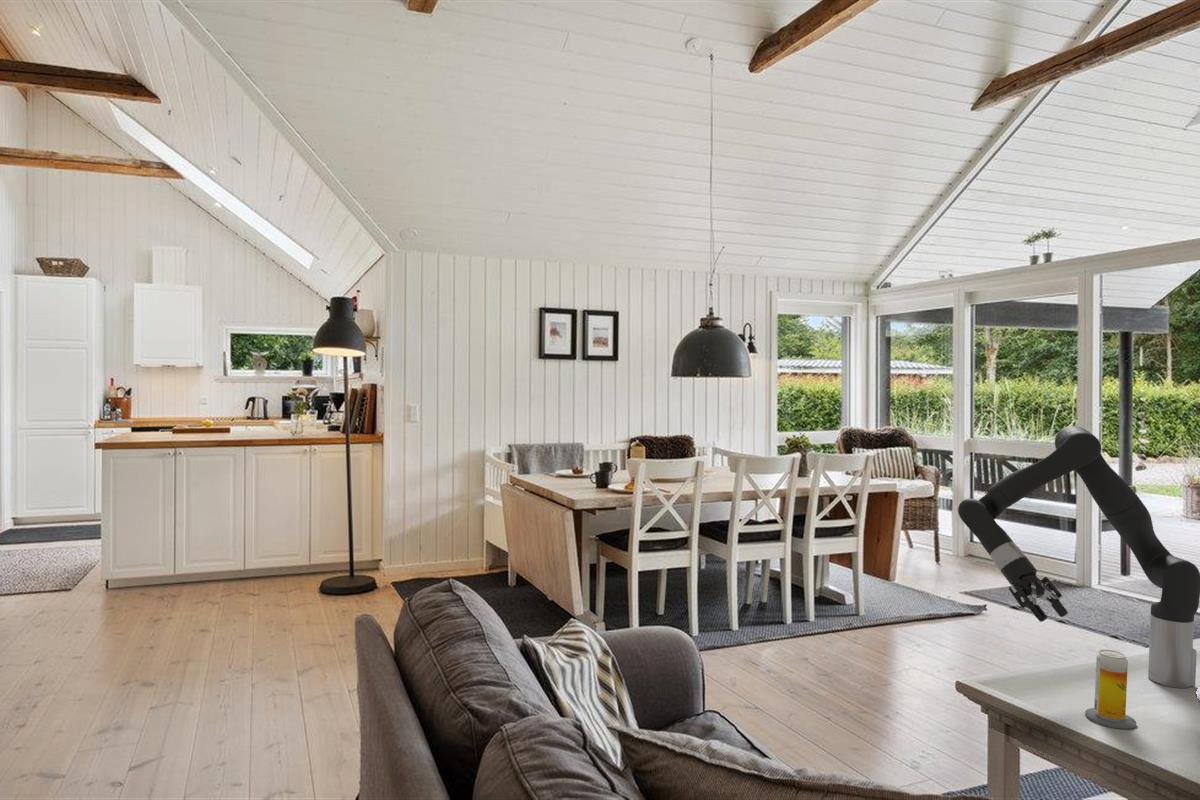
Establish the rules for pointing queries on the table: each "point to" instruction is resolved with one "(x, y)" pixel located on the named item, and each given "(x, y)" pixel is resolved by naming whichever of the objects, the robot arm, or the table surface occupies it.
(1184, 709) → the table surface
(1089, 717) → the slate coaster
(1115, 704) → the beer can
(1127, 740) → the table surface
